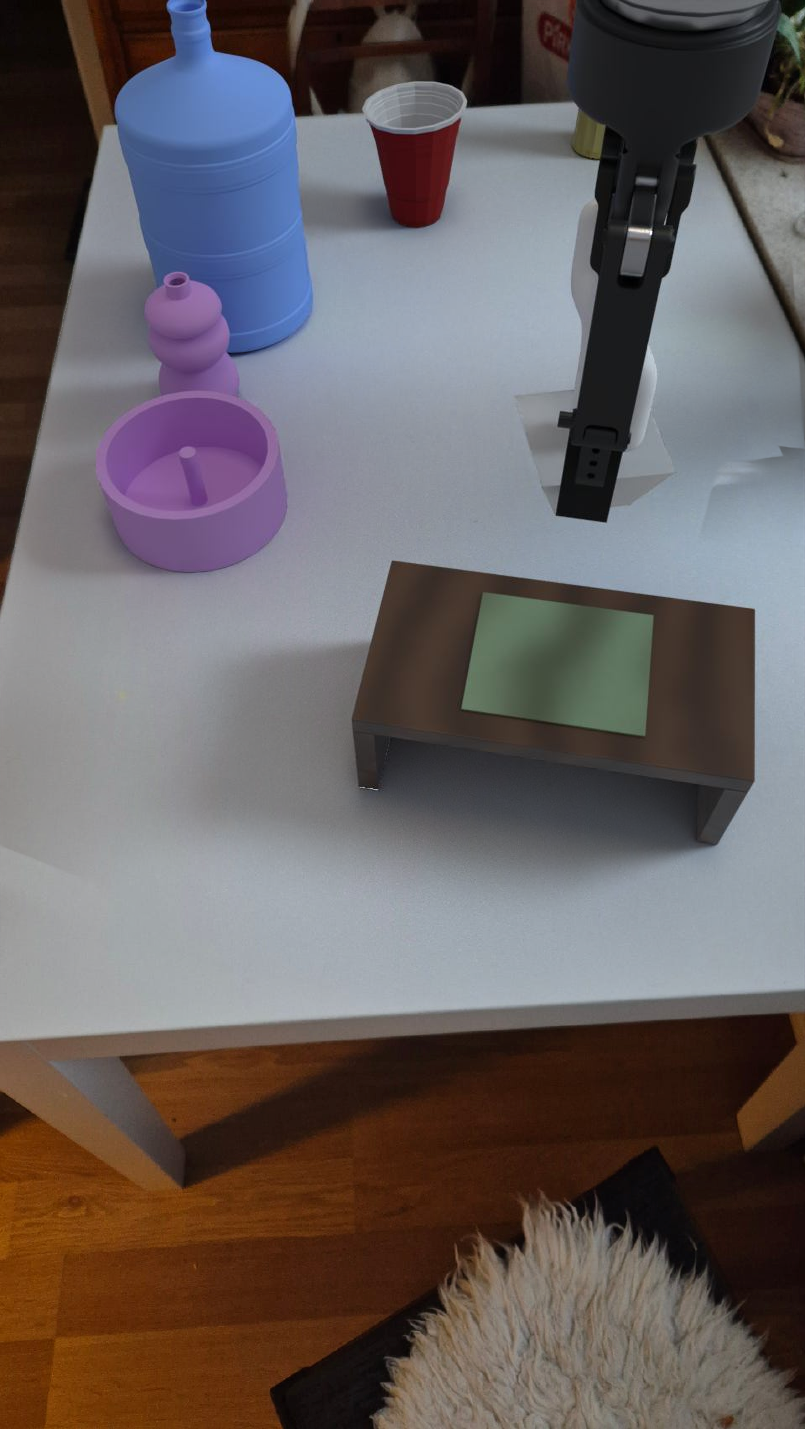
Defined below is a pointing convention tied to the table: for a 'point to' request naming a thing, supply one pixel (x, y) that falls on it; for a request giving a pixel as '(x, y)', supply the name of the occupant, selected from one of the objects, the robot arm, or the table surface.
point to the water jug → (219, 180)
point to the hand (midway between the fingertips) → (590, 451)
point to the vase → (588, 136)
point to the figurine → (541, 411)
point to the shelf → (563, 680)
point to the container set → (192, 447)
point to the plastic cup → (415, 146)
